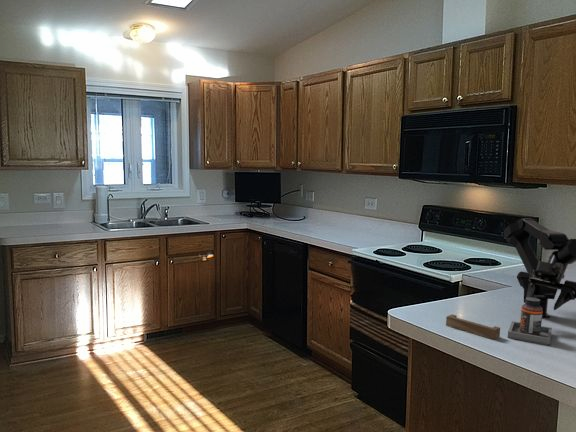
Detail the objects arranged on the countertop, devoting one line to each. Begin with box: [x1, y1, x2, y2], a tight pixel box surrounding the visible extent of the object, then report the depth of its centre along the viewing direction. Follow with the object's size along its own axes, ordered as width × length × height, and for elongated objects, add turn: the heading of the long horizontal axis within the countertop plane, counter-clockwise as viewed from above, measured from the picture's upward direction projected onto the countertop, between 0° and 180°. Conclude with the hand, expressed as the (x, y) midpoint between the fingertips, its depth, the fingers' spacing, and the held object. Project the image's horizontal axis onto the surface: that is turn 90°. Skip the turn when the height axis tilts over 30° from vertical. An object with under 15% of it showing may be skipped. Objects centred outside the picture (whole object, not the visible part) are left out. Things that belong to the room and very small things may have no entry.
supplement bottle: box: [519, 297, 543, 336], centre depth 156 cm, size 6×6×11 cm
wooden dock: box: [445, 313, 501, 340], centre depth 159 cm, size 4×16×3 cm, turn 43°
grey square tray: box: [507, 320, 553, 346], centre depth 156 cm, size 12×12×2 cm
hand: (539, 305), depth 160 cm, fingers open, 9 cm apart
